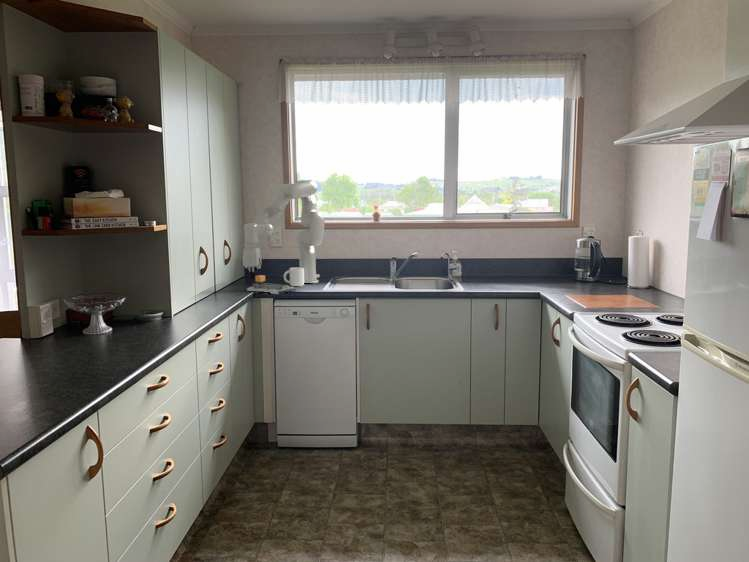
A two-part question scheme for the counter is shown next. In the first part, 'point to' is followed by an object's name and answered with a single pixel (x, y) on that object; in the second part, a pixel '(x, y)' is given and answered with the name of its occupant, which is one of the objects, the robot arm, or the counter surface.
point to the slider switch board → (270, 288)
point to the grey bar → (286, 291)
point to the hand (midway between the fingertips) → (253, 278)
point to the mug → (295, 276)
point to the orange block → (260, 279)
